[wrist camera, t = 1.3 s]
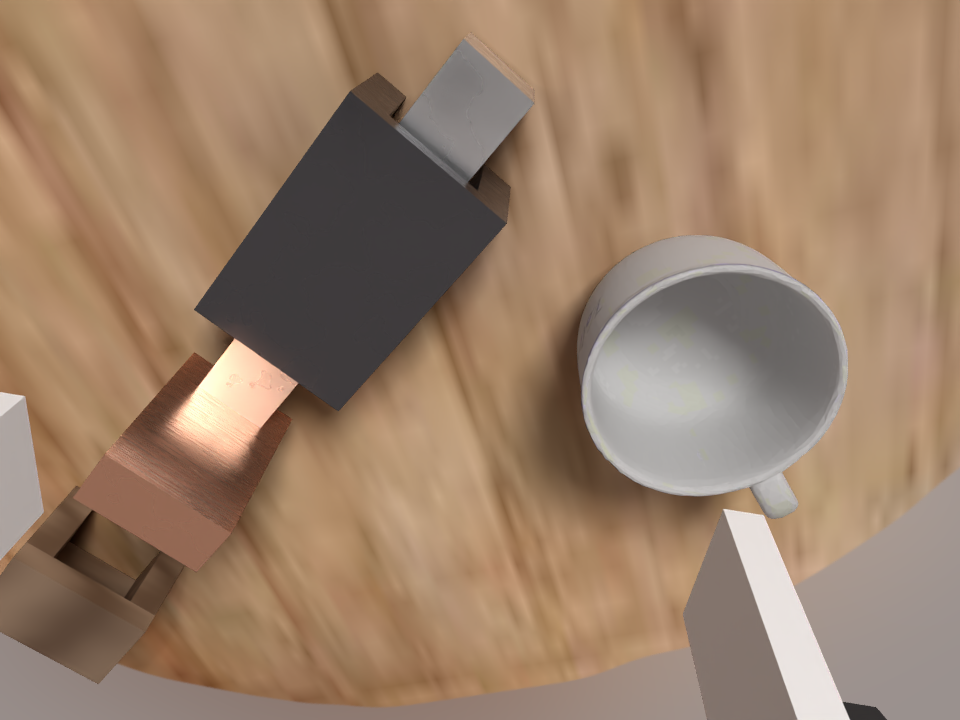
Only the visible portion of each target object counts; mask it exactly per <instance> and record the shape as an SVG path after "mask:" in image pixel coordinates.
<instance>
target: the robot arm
mask: <svg viewBox="0 0 960 720" xmlns="http://www.w3.org/2000/svg"><path fill="white" fill-rule="evenodd" d="M43 513H44V510H43V504H42V498H41V492H40V486H39V479H38V473H37V467H36V461H35V455H34V449H33V442H32V436H31V430H30V424H29V418H28V411H27V405H26V399H25V396H20V395H14V394H8V393H2V392H0V560H1V559H2V558H3V557H4V555H5V554H6V553H7V552H8V551H9V550H10V549H11V548H12V547H13V546H14V544H15V543H16V542H17V541H18V540H19V539H20V538H21V537H22V536H23V535H24V533H25V532H26V531H27V530H28V529H29V528H30V527H31V526H32V525H33V524H34V522H35V521H36V520H37V519H38V518H39V517H40V516H41V515H42V514H43ZM683 617H684V621H685V626H686V630H687V634H688V639H689V643H690V647H691V652H692V656H693V660H694V665H695V669H696V673H697V677H698V682H699V686H700V690H701V695H702V699H703V704H704V708H705V712H706V717H707V720H887V719H886V718H885V717H884V716H883V715H882V713H881V712H880V711H879V710H878V709H877V708H876V707H871V706H865V705H859V704H852V703H846V702H842V700H841V698H840V695H839V693H838V690H837V688H836V686H835V683H834V681H833V679H832V676H831V674H830V671H829V669H828V667H827V665H826V662H825V660H824V658H823V655H822V652H821V650H820V648H819V646H818V643H817V641H816V638H815V636H814V634H813V631H812V629H811V626H810V624H809V622H808V619H807V617H806V615H805V612H804V610H803V608H802V605H801V603H800V600H799V598H798V596H797V594H796V591H795V589H794V586H793V584H792V581H791V579H790V577H789V574H788V572H787V570H786V567H785V565H784V562H783V560H782V558H781V555H780V553H779V551H778V548H777V546H776V544H775V541H774V539H773V536H772V534H771V532H770V529H769V527H768V525H767V522H766V520H765V517H764V515H758V514H752V513H746V512H739V511H733V510H727V509H723V511H722V514H721V516H720V519H719V521H718V524H717V527H716V529H715V532H714V534H713V537H712V540H711V542H710V545H709V547H708V550H707V553H706V555H705V558H704V560H703V563H702V566H701V568H700V571H699V573H698V576H697V579H696V581H695V584H694V586H693V589H692V592H691V594H690V597H689V599H688V602H687V605H686V607H685V610H684V612H683Z"/></svg>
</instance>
